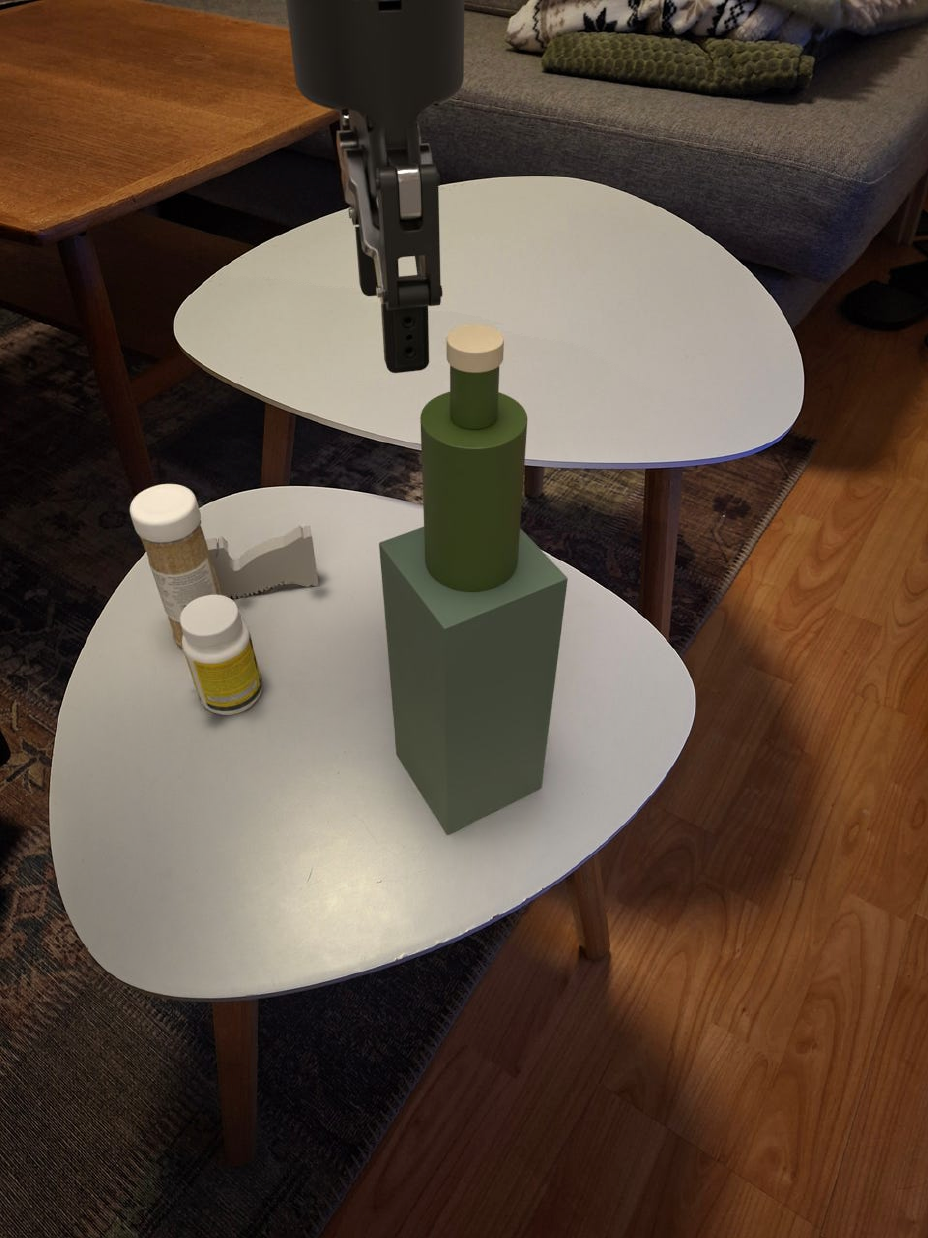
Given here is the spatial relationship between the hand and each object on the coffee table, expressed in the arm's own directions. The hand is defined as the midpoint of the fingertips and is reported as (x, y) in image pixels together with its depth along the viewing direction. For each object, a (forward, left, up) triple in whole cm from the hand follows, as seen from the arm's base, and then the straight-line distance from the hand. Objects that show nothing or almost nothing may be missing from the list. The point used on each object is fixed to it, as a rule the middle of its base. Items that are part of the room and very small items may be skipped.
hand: (392, 328), depth 48 cm
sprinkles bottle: (-13, +12, -29) cm, 33 cm away
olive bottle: (-1, -10, -8) cm, 13 cm away
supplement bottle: (-13, +5, -29) cm, 32 cm away
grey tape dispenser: (-7, +14, -29) cm, 33 cm away
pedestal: (-1, -10, -28) cm, 30 cm away
